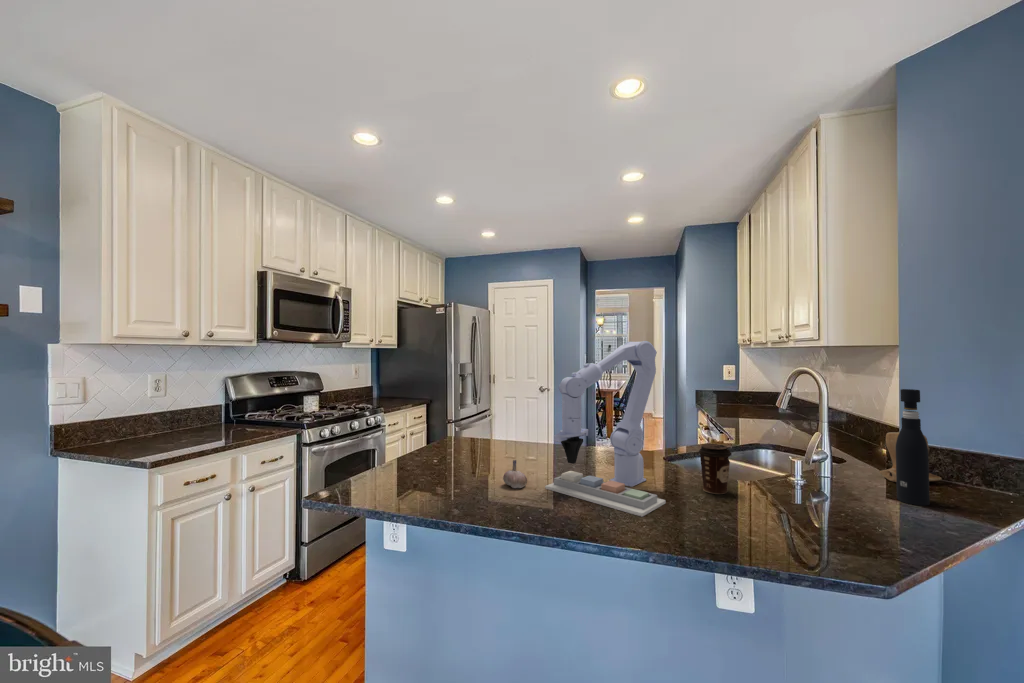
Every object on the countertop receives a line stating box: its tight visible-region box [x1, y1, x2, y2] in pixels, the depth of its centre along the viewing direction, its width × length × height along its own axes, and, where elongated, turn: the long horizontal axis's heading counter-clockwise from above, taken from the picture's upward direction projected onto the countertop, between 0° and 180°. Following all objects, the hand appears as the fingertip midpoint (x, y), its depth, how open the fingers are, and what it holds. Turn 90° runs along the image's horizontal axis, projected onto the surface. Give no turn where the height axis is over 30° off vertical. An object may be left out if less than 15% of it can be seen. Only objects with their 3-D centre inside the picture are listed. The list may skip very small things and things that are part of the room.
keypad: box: [544, 475, 667, 518], centre depth 120 cm, size 13×31×3 cm, turn 45°
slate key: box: [580, 475, 604, 488], centre depth 122 cm, size 5×5×2 cm
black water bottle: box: [895, 388, 931, 507], centre depth 114 cm, size 6×6×30 cm
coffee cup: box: [698, 443, 732, 495], centre depth 123 cm, size 9×8×13 cm
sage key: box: [624, 488, 650, 500], centre depth 112 cm, size 5×5×2 cm
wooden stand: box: [879, 431, 943, 483], centre depth 133 cm, size 15×12×15 cm
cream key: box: [560, 470, 584, 483], centre depth 127 cm, size 5×5×2 cm
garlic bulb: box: [502, 459, 528, 489], centre depth 128 cm, size 8×7×8 cm
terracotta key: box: [601, 479, 626, 494], centre depth 117 cm, size 5×5×2 cm
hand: (571, 462), depth 127 cm, fingers closed
